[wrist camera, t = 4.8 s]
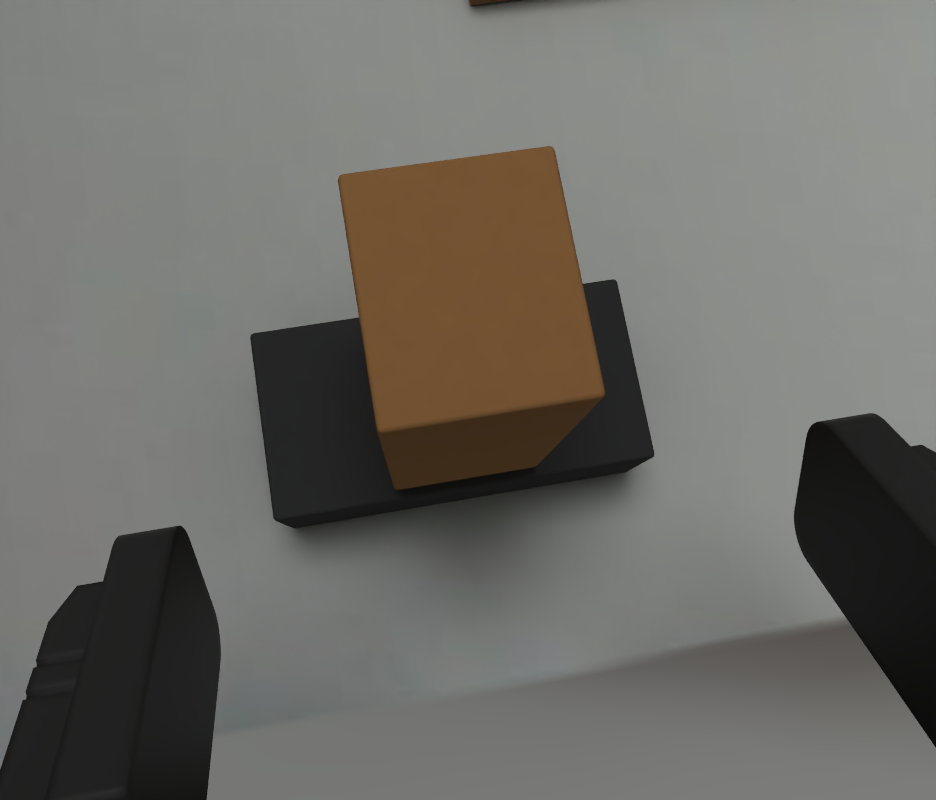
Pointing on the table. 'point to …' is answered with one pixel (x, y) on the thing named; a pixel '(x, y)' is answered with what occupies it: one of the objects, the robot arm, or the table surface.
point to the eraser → (451, 351)
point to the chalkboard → (484, 1)
